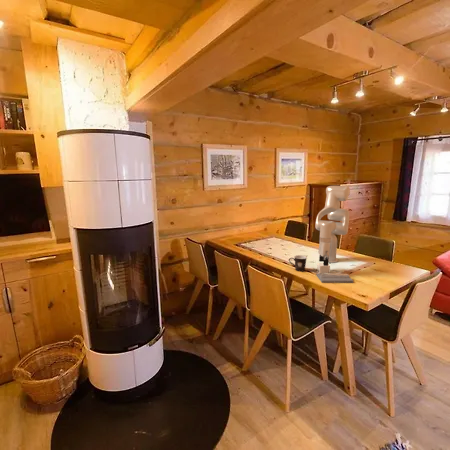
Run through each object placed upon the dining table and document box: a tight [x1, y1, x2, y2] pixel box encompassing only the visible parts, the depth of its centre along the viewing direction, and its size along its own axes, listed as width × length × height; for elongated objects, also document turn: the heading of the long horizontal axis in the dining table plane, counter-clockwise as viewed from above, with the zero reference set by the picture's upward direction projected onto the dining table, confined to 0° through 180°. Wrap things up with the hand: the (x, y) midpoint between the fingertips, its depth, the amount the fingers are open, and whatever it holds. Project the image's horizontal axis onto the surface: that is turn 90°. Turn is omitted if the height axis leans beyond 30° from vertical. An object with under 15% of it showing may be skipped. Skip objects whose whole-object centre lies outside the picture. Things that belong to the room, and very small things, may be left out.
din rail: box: [319, 273, 350, 278], centre depth 182 cm, size 2×18×2 cm, turn 88°
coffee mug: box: [288, 254, 307, 273], centre depth 200 cm, size 12×9×10 cm
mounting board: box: [316, 273, 354, 284], centre depth 182 cm, size 12×20×2 cm, turn 88°
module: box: [316, 262, 331, 274], centre depth 195 cm, size 6×7×6 cm
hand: (323, 263), depth 194 cm, fingers open, 9 cm apart
